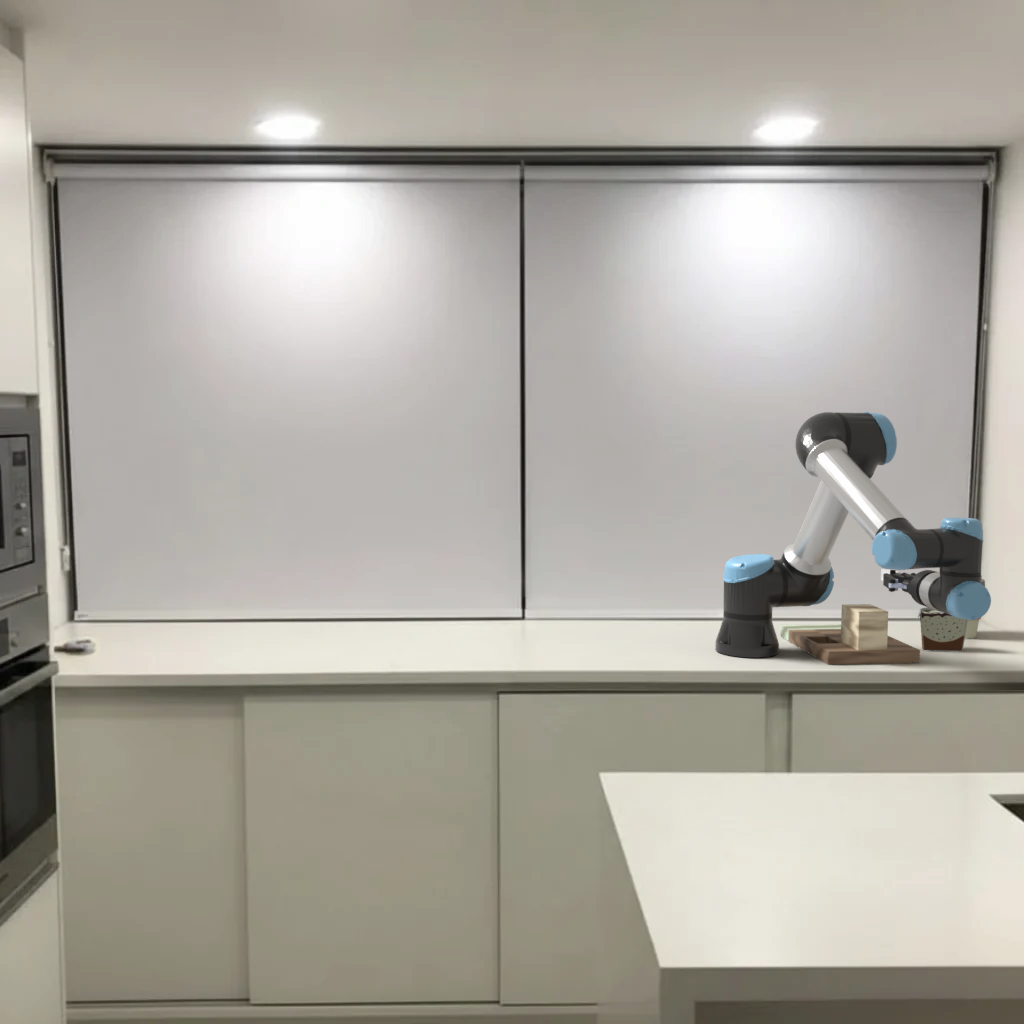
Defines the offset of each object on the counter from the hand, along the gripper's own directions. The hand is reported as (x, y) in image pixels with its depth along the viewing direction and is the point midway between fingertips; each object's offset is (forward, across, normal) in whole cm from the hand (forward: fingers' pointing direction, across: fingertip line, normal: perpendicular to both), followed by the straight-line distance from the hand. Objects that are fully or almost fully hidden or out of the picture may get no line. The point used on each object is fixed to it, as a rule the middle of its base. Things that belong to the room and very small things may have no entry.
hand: (884, 574), depth 239 cm
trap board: (+20, 0, -21) cm, 29 cm away
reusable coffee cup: (+34, +36, -22) cm, 54 cm away
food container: (+18, +23, -22) cm, 37 cm away
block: (+10, 0, -18) cm, 21 cm away
